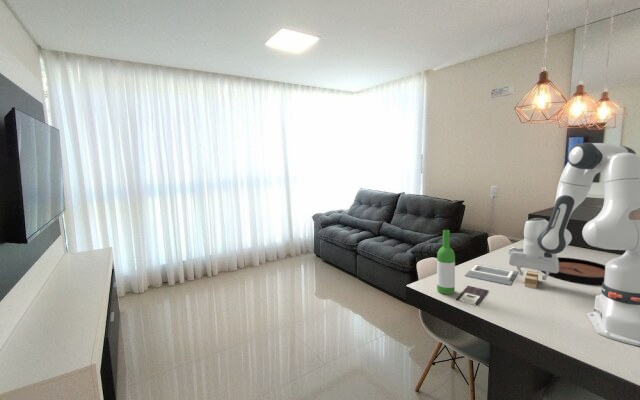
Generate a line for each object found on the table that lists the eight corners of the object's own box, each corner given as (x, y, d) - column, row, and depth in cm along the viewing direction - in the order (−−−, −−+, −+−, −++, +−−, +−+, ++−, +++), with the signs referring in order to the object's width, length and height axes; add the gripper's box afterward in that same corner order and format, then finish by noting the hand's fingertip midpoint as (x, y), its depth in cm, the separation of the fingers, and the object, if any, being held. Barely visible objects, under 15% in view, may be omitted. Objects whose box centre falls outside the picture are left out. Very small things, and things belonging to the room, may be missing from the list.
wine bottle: (434, 288, 146) (434, 229, 142) (449, 287, 146) (450, 228, 143) (441, 295, 138) (442, 232, 134) (457, 294, 139) (458, 231, 135)
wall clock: (628, 269, 150) (600, 282, 136) (628, 277, 151) (599, 291, 137) (556, 253, 178) (526, 263, 164) (556, 260, 179) (526, 270, 164)
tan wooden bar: (536, 289, 141) (536, 279, 141) (524, 286, 144) (525, 277, 144) (537, 280, 151) (538, 272, 150) (527, 278, 154) (527, 270, 153)
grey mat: (510, 285, 146) (510, 281, 146) (464, 276, 160) (464, 272, 159) (517, 272, 162) (518, 268, 162) (475, 264, 176) (475, 261, 176)
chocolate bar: (488, 290, 141) (477, 304, 127) (488, 292, 141) (477, 306, 128) (467, 285, 147) (455, 298, 133) (467, 287, 147) (455, 300, 134)
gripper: (507, 248, 150) (506, 274, 152) (559, 255, 137) (557, 284, 139) (510, 245, 155) (509, 270, 157) (560, 252, 141) (558, 280, 143)
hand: (532, 277), depth 148 cm, fingers open, 8 cm apart
